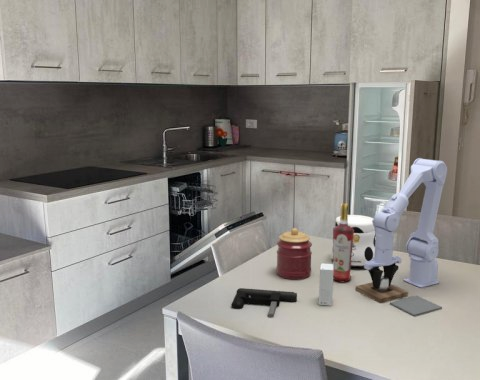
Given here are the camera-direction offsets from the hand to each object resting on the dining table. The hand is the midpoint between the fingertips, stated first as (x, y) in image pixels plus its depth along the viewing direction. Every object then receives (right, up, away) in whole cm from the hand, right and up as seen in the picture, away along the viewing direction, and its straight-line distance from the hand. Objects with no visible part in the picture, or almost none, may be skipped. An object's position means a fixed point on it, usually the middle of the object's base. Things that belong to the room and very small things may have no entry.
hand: (381, 286), depth 163 cm
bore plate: (0, -2, 0) cm, 2 cm away
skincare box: (-20, -4, -6) cm, 21 cm away
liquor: (-11, 0, +13) cm, 17 cm away
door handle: (-40, -5, -9) cm, 41 cm away
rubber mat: (+8, -4, -10) cm, 13 cm away
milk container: (-2, +3, +30) cm, 31 cm away
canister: (-28, +1, +19) cm, 33 cm away
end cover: (0, -2, +1) cm, 2 cm away
